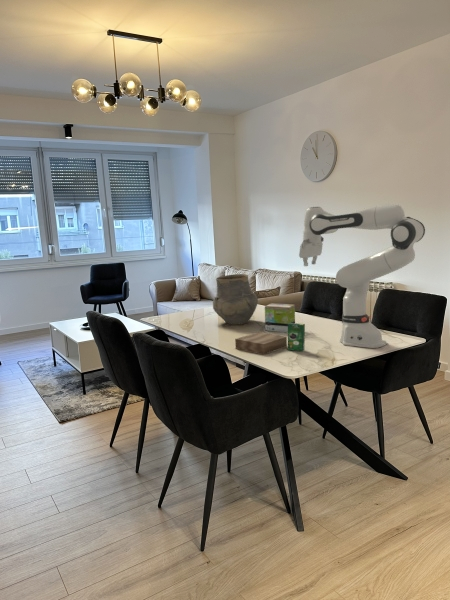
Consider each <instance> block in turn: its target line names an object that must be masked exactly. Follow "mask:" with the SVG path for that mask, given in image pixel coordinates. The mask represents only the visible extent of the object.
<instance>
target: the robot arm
mask: <svg viewBox="0 0 450 600" xmlns="http://www.w3.org/2000/svg"><path fill="white" fill-rule="evenodd" d="M404 210H405V209H404V208H402V206H401V205H399V204H379V205H372V206H369V207H366V208H362V209H360V210H356V211H354V212H350V213H346V214H339V215H338V214H337V215H335V214H332V213H330V212H327V210H324V209H323V208H322V207H321V206H312V207H308V208H307V209H306V210H305V212H304V213H305V214H304V220H303V225H304V230H303V232H302V233H303V234H302V242H301V244H300V246H299V253H298V257H299V258H300V259H302V260H303V266H304V267H308V266H309V262H308V260H309V258H312V260H311V265H316V264H317V263H316V262H317V259H318V256H321V255H322V253H323V251H322V250H323V246H324V243H323V242H324V240H325V239H324V237H323V236H322V235H327V234H333V233H336V232H337V231H338V230H339V229H347V228H348V229H351V228H352V229H360V230H374V231H375V230H377V231H378V230H384V229H385V230H386V229H389V230H390V239H391V243H392V245H391V246H390V247H387V248H385V249H382V250H380V251H378V252H376V253H374V254H372V255H370V256H369V255H368V256H367V257H364V258H362V259H359V260H356V261H354V262H351V263H350V264H347V265H345V266H343V267H341V268H339V270H338V271H337V272H336V275H335V281H336V283H337V285H338V286H340V287H341V288H344V289H345V288H346V291H345V293H344V295H343V298H342V300H343V301H342V315H341V321H342V330H341V335H340V338H339V342H340V343H342V345H343V346H351V347H358V348H359V347H360V348H368V349H369V348H370V349H378V348H381V347H384V346H386V345H387V344H388V343H387V342H388V341H387V340H384V339H383V336H382V332H381V330H380V329H378V328H377V326H375V325H374V324H373V323H372V322H371V321H370V319H371V317H372V316H371V315H370V316H368V314H367V298H368V297H367V296H368V292H369V286H370V281H373V280H376V279H378V278H381V277H384V276H386V275H388V274H390V273H393V272H396V271H398V270H400V269H402V268H404V267H406V266H408V265H409V264H410V263H412V262H414V260H415V257H416V253H415V249H414V244H416V243H419V242H420V241H421V240H422V239H423V238H424V236H425V234H426V228H425V225H424V223H423V222H421V221H420V220H418V219H416V218H413V217H410V216H405V211H404Z"/></svg>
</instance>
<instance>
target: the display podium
mask: <svg viewBox="0 0 450 600" xmlns="http://www.w3.org/2000/svg"><path fill="white" fill-rule="evenodd" d="M234 339H235V340H234V341H235V344H234V345H235V350H241V351H245V352H249V353H256V354H260V355H266V354H269V353H272V352H274V351H277V350H280V349H283V348H286V347H287V348H288V336H285V335H279V334H273V333H268V332H260V331H258V332H254V333H251V334H247V335H244V336H243V335H242V337H237V338H234Z"/></svg>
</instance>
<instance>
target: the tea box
mask: <svg viewBox="0 0 450 600" xmlns="http://www.w3.org/2000/svg"><path fill="white" fill-rule="evenodd" d="M288 323H296V305H295V304H289V303H287V304H286V303H273V302H271V303H269V304H267V305H264V325H265V326H264V329H265V332H266V331H269V332H270V331H271V332H280V333H281V332H282V333H288Z"/></svg>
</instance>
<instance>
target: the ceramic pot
mask: <svg viewBox="0 0 450 600" xmlns="http://www.w3.org/2000/svg"><path fill="white" fill-rule="evenodd" d="M215 280H216V296H214V299H213V301H212V309H213V311H215V313H216V314H217V316H219V317H220V318H221V319H222V320H224V322H225V323H227V324H229V325H235V326H236V325H244V324H247V323H248V322H249V321H250V320H251V318H252V316H253V315H254V313H255V312H256V309H257V307H258V302H259V300H258V296H257V294H256V293H255V292H253V291H252V288H251V285H250V282H249V275H248V274H245V273H242V274H241V273H237V274H227V275H226V274H225V275H222V276H218V277H216V278H215Z"/></svg>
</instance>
